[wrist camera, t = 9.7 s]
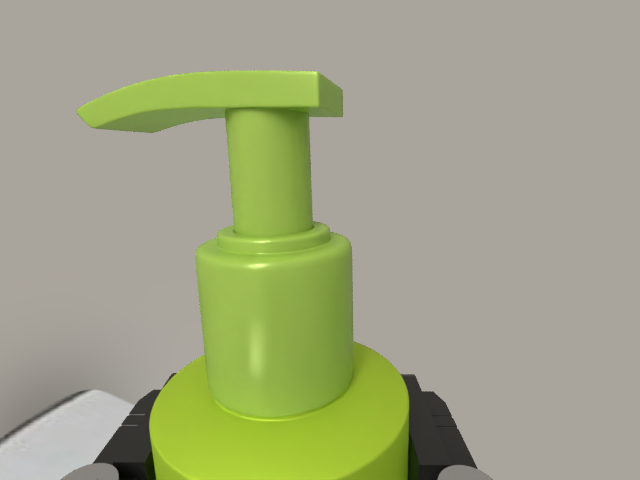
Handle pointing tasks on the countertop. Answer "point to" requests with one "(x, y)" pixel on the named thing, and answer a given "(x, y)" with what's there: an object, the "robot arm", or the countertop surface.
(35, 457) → the countertop surface
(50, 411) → the countertop surface
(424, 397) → the robot arm
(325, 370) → the soap dispenser
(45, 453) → the countertop surface
